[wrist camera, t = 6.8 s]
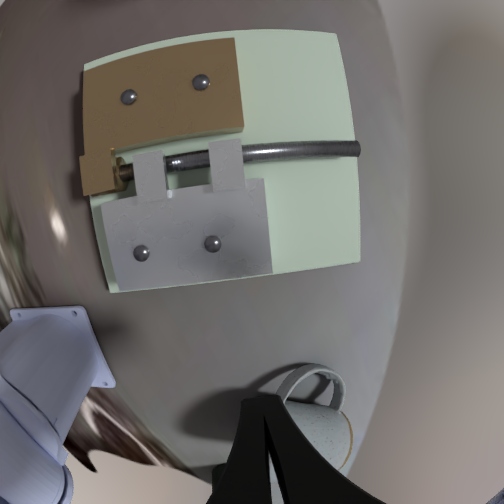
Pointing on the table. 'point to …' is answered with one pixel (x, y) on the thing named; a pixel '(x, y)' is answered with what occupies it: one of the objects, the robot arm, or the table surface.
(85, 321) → the robot arm
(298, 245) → the board
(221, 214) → the steel leaf
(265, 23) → the table surface
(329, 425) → the ceramic mug
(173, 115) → the bronze leaf
